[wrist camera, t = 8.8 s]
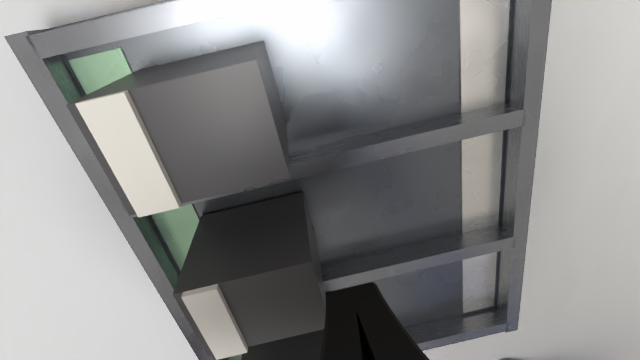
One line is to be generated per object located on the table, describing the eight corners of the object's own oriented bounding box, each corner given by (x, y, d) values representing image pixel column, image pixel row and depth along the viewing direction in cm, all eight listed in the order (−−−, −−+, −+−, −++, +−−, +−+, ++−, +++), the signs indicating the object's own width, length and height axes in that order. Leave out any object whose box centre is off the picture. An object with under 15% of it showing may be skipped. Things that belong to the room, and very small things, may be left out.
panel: (515, -79, 11) (561, -96, 9) (494, 298, 19) (517, 329, 17) (49, 31, 11) (4, 36, 9) (227, 361, 19) (222, 399, 17)
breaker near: (263, 40, 11) (256, 61, 7) (286, 125, 12) (290, 181, 8) (137, 70, 11) (59, 107, 7) (174, 152, 12) (126, 220, 8)
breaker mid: (303, 191, 13) (312, 266, 9) (317, 247, 14) (331, 332, 11) (201, 215, 13) (170, 300, 9) (225, 269, 14) (207, 362, 11)
